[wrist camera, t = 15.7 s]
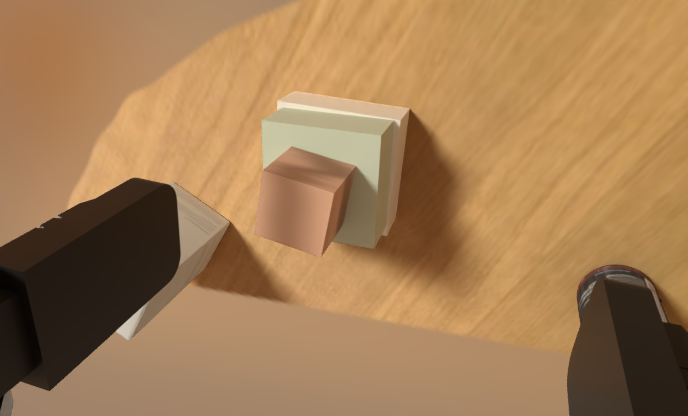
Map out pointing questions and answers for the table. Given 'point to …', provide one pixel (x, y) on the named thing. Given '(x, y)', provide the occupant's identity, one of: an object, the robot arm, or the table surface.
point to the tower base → (366, 110)
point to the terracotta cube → (303, 200)
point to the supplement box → (183, 255)
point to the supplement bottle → (617, 274)
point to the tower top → (346, 146)
